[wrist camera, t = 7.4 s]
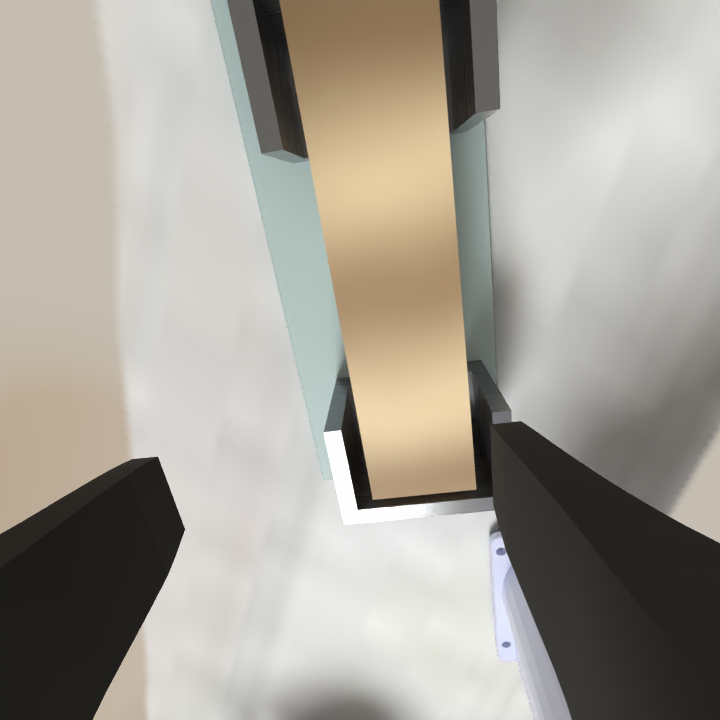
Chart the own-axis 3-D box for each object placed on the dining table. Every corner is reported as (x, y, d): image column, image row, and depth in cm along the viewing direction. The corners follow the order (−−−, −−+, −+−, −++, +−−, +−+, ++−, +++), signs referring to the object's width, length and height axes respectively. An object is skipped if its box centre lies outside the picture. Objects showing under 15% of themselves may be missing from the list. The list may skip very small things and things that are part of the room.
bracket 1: (266, 30, 14) (218, -37, 10) (458, -12, 13) (492, -102, 9) (293, 163, 15) (261, 153, 11) (466, 131, 15) (500, 108, 11)
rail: (456, 427, 18) (476, 489, 14) (374, 436, 18) (372, 499, 15) (420, 29, 13) (436, -37, 9) (307, 52, 13) (279, -1, 9)
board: (497, 454, 20) (500, 461, 20) (324, 472, 21) (323, 480, 20) (471, -55, 13) (475, -66, 13) (216, 3, 14) (209, -4, 14)
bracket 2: (486, 440, 19) (514, 508, 15) (351, 455, 20) (344, 524, 16) (481, 359, 18) (511, 410, 14) (336, 378, 18) (323, 432, 14)
